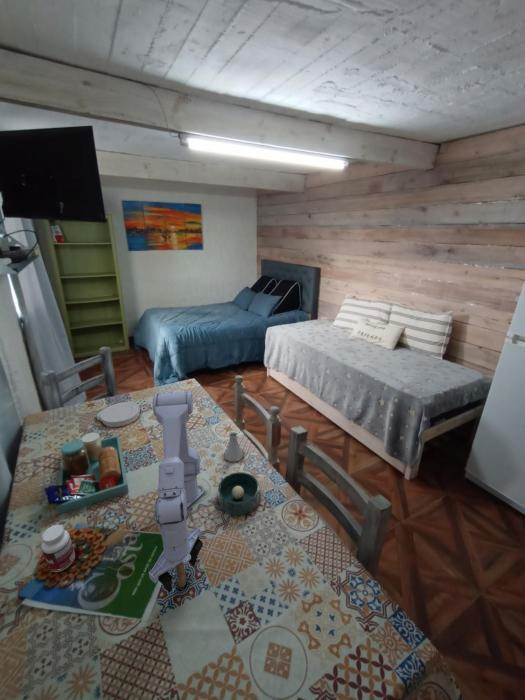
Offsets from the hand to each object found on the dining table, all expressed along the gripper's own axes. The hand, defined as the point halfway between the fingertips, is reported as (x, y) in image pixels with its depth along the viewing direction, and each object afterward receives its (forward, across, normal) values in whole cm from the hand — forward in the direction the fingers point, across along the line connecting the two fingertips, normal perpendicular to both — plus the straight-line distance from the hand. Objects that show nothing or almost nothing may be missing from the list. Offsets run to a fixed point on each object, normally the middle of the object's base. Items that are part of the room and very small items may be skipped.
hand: (180, 575), depth 79 cm
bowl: (+3, +29, +5) cm, 30 cm away
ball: (0, +29, +5) cm, 29 cm away
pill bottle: (+3, -15, +30) cm, 34 cm away
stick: (+3, 0, 0) cm, 3 cm away
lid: (+3, +33, +82) cm, 88 cm away
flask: (+3, +44, +20) cm, 48 cm away
